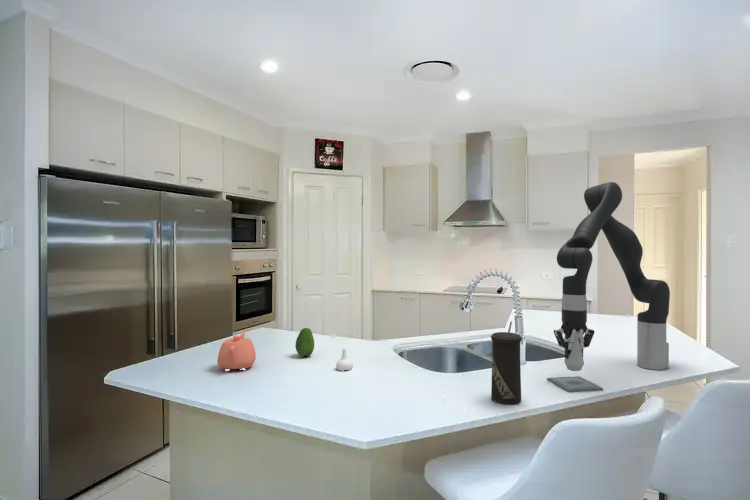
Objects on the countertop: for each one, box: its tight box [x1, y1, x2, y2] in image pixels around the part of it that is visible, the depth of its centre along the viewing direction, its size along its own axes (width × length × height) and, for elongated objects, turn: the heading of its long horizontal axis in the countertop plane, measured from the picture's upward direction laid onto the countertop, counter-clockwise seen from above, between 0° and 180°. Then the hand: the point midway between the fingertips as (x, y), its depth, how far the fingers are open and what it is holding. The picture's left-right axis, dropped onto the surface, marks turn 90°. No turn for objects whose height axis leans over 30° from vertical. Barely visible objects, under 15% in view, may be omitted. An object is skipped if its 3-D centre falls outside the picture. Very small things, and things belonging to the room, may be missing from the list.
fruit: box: [294, 327, 315, 357], centre depth 173 cm, size 8×8×12 cm
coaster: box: [546, 375, 604, 393], centre depth 137 cm, size 12×12×1 cm
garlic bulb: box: [335, 348, 354, 371], centre depth 156 cm, size 6×6×8 cm
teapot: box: [216, 331, 257, 370], centre depth 158 cm, size 13×20×12 cm, turn 5°
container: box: [490, 331, 523, 405], centre depth 124 cm, size 9×9×20 cm
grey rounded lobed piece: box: [563, 331, 585, 372], centre depth 137 cm, size 6×6×13 cm
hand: (573, 359), depth 137 cm, fingers closed on grey rounded lobed piece, 3 cm apart
